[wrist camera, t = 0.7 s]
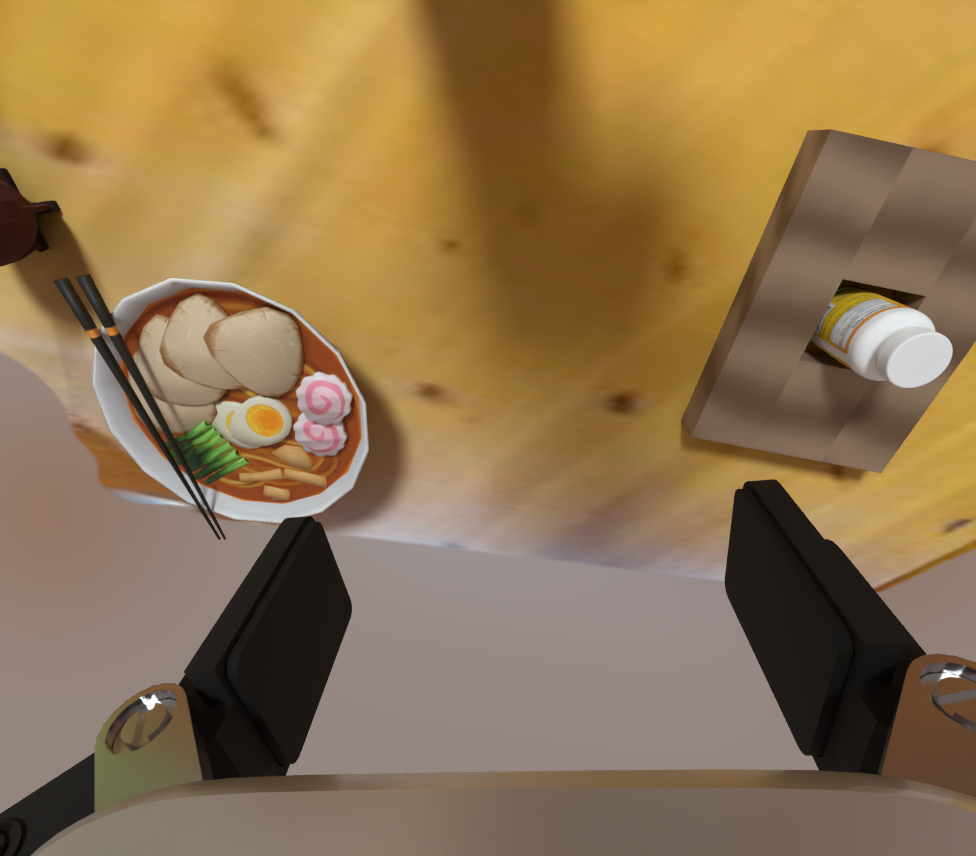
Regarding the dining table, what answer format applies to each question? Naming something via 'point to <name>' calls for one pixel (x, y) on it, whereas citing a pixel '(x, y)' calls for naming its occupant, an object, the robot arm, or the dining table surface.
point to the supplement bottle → (882, 339)
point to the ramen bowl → (226, 398)
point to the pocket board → (814, 281)
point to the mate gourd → (19, 222)
